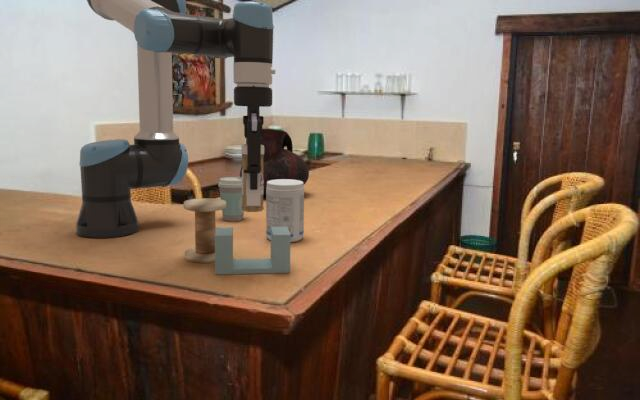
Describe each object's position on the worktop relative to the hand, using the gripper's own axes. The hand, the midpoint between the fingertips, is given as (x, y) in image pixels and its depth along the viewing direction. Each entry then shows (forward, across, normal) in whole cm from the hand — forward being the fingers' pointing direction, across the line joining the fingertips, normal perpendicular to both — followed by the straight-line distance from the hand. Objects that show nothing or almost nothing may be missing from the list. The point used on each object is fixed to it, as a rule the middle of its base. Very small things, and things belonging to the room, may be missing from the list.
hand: (252, 202), depth 109 cm
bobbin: (+14, +9, +10) cm, 19 cm away
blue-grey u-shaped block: (+14, 0, 0) cm, 14 cm away
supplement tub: (+14, +24, -9) cm, 29 cm away
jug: (+14, +87, -11) cm, 89 cm away
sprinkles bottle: (+2, 0, 0) cm, 2 cm away
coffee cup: (+14, +47, +4) cm, 49 cm away
